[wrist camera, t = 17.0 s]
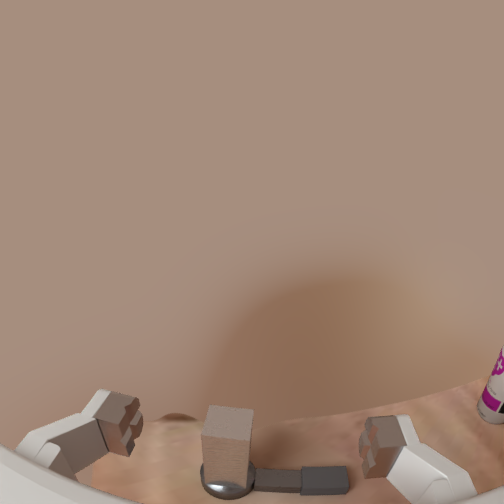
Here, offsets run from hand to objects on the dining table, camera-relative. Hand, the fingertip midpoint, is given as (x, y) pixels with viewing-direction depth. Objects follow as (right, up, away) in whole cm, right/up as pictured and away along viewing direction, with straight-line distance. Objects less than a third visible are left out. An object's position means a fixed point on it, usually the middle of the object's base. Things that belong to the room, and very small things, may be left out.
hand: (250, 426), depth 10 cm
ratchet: (+3, -24, +24) cm, 34 cm away
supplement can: (+46, -25, +32) cm, 61 cm away
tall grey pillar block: (-3, -22, +24) cm, 32 cm away
